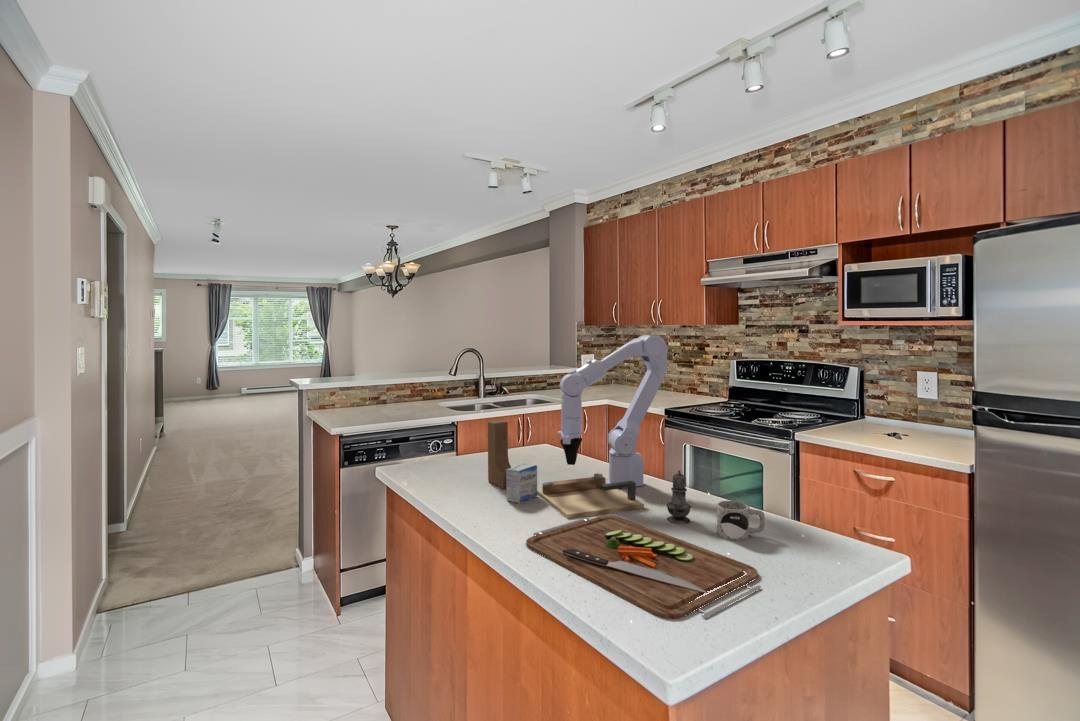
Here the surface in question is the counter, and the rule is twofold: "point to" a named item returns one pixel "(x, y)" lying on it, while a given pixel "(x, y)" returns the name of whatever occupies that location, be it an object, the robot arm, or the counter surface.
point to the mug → (736, 520)
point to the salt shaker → (678, 501)
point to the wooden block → (498, 452)
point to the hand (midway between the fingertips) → (571, 464)
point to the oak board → (590, 502)
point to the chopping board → (643, 564)
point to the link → (573, 484)
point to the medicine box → (521, 482)
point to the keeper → (620, 485)
